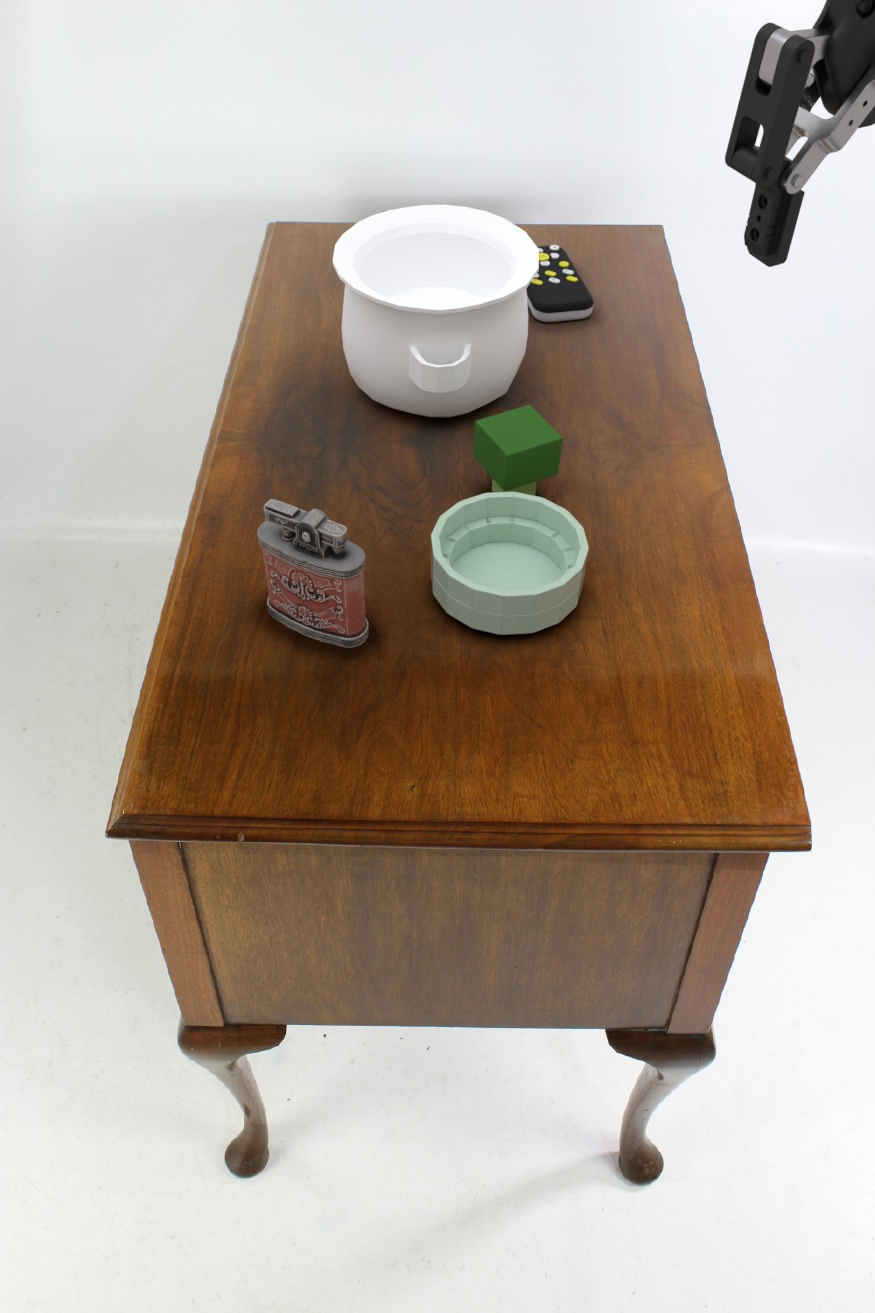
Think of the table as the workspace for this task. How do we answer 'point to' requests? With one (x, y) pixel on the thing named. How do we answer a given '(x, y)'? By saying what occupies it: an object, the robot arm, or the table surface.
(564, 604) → the bowl
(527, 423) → the broccoli
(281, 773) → the table surface
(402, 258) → the pot
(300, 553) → the lighter
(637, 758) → the table surface
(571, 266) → the remote control
